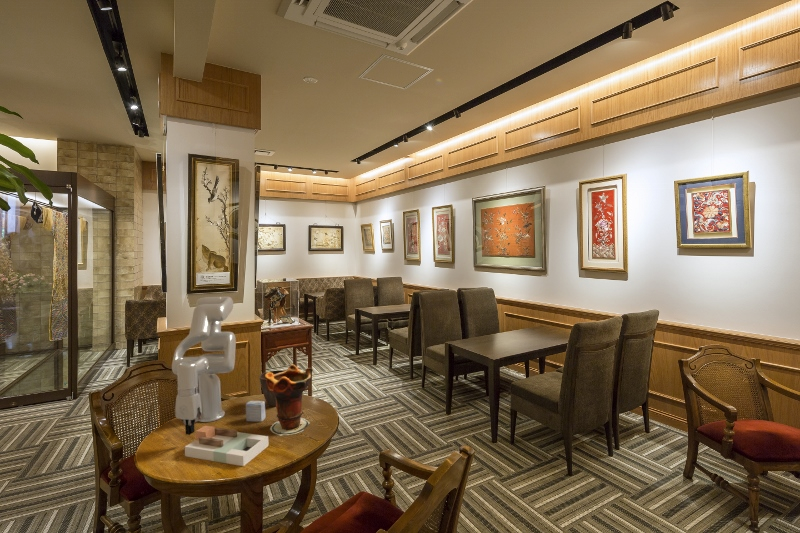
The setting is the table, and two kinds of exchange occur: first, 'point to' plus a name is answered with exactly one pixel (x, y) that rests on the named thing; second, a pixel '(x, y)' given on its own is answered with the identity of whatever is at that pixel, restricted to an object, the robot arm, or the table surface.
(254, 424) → the table surface
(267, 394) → the plant pot
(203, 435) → the block
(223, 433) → the channel walls
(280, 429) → the decorative vase
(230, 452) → the deck
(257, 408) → the medicine box
